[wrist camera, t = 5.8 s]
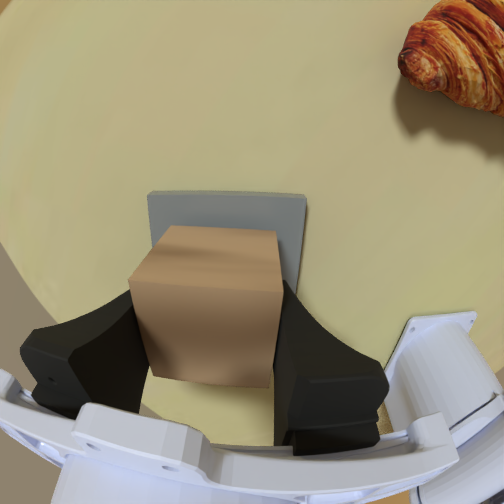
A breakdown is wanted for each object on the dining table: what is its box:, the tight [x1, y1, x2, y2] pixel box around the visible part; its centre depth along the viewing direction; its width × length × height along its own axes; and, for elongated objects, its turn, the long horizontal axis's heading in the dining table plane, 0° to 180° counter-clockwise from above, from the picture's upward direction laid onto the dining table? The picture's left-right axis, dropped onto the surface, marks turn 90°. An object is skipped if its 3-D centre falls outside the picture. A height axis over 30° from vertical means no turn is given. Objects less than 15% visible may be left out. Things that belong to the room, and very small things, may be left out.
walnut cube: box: [128, 225, 283, 388], centre depth 12 cm, size 5×5×5 cm
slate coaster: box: [147, 191, 307, 294], centre depth 15 cm, size 8×8×1 cm
